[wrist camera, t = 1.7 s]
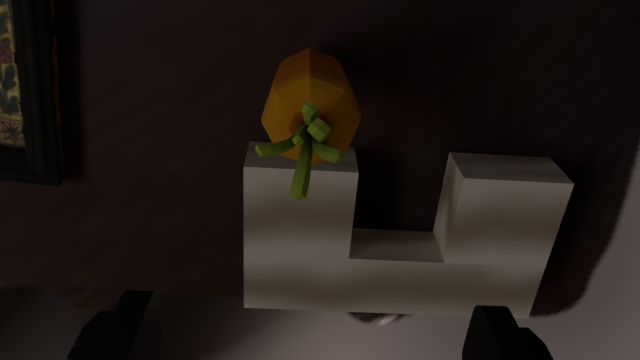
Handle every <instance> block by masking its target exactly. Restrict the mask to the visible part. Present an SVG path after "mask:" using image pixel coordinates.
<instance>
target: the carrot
mask: <svg viewBox="0 0 640 360" xmlns="http://www.w3.org/2000/svg"><path fill="white" fill-rule="evenodd" d="M360 120H361V113H360V110H359V107H358V104H357V101H356V98H355V96H354V93H353V91H352V89H351V86H350V84H349V82H348V80H347V77H346V75H345V73H344V70H343V68H342V66H341V63H340V62H339V61H338V60H337V59H336V58H334V57H333V56H331V55H328V54H326V53H323V52H320V51H318V50H315V49H312V48H308V49H305V50H303V51H301V52H299V53H297V54H294V55H292V56H290V57H288V58H287V59H285V60H284V61H283V62H282V63H281V64H280V65H279V68H278V71H277V73H276V76H275V79H274V82H273V85H272V87H271V90H270V93H269V96H268V99H267V102H266V105H265V108H264V111H263V115H262V118H261V122H262V124H263V126H264V128H265V129H266V131H267V133H268V135H269V137H270V139H271V140H272V142H273V143H268V144H261V145H256V146H255V150H256V152H257V154H258V155H259V156H260V157H270V156H276V155H281V156H284V157H287V158H290V159H293V160H296V161H297V165H296V169H295V173H294V176H293V181H292V185H291V191H290V196H291V198H292V199H294V200H301V199H304V198H306V196H307V192H308V187H309V181H310V173H311V166H315V165H317V164H320V163H322V162H325V161H328V162H331V163H336V164H339V163H340V162H341V160H342V159H343V156H344V153H346V151H347V149H348V147H349V145H350V143H351V140H352V138H353V136H354V134H355V131H356V129H357V127H358V125H359V122H360Z"/></svg>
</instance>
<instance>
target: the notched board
mask: <svg viewBox="0 0 640 360" xmlns="http://www.w3.org/2000/svg"><path fill="white" fill-rule="evenodd" d="M268 143H271V142H252V141H250V143H249V147H248V151H247V155H246V160H245V164H244V308H268V309H294V310H319V311H320V310H322V311H345V312H371V313H397V314H423V315H448V316H449V315H450V316H472V313H473V310H474V308H475V306H476V305H491V306H507V307H508V308H509V309H510V311H511V313H512V315H513V317H514V318H526V319H528V316H529V313H530V311H531V308H532V305H533V302H534V299H535V296H536V293H537V290H538V287H539V284H540V282H541V279H542V276H543V273H544V270H545V267H546V264H547V261H548V258H549V256H550V253H551V250H552V247H553V244H554V241H555V238H556V235H557V232H558V229H559V227H560V224H561V221H562V218H563V215H564V212H565V209H566V206H567V203H568V200H569V198H570V195H571V192H572V189H573V186H574V183H573V182H572V181H571V180H570V179H569V178H568V177H567V176H566V175H565V174H564V172H563V171H562V170H561V169H560V168H559V167H558V166H557V165H556V164H555V163H554V162H553V161H552V160H551V159H550V158H546V157H527V156H509V155H491V154H472V153H454V152H449V157H448V162H447V167H446V171H445V176H444V181H443V186H442V191H441V195H440V200H439V205H438V210H437V215H436V220H435V224H434V229H433V232H425V231H404V230H383V229H361V228H352V226H353V218H354V209H355V201H356V192H357V184H358V175H359V171H358V166H357V160H356V155H355V149H354V147H348V149H347V151H346V153H344V156H343V159H342V160H341V162H340V163H339V164H336V163H331V162H328V161H325V162H322V163H320V164H317V165H315V166H311V173H310V181H309V187H308V192H307V196H306V198H304V199H301V200H294V199H292V198H291V196H290V191H291V185H292V181H293V176H294V173H295V169H296V165H297V161H296V160H293V159H290V158H287V157H284V156H281V155H276V156H270V157H260V156H259V155H258V154H257V152H256V150H255V146H256V145H261V144H268Z"/></svg>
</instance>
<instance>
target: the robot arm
mask: <svg viewBox="0 0 640 360" xmlns="http://www.w3.org/2000/svg"><path fill="white" fill-rule="evenodd" d="M162 343H163V337H162V327H161V317H160V307H159V298H158V293H157V292H156V291H131V290H126V291H124V293H123V294H122V296H121V298H120V300H119V302H118V305H117V307H116V309H115V311H100V312H99V313H98V314H97V315H95V316H94V317H93V318H92V319H91V320H90V321H89V322H88V323H86V324H85V325H84V327H83V328H82V330H81V332H80V334H79V336H78V338H77V340H76V341H75V344H74V347H73V348H72V349H71V351H70V353H69V355H68V357H67V360H160V358H161V352H162ZM462 360H553V358H552V356H551V354H550V352H549V351H548V349H547V347H546V345H545V343H544V342H543V341H542V340H541V339H540V338H539V337H538V336H536V335H535V334H534V333H533V332H532V331H531V330H530V329H529V328H521V327H520V328H519V327H518V325H517V323H516V321H515V319H514V317H513V315H512V313H511V311H510V309H509V308H508V307H507V306H491V305H476V306H475V308H474V310H473V313H472V317H471V321H470V324H469V328H468V331H467V335H466V339H465V342H464V346H463V351H462Z"/></svg>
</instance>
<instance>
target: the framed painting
mask: <svg viewBox="0 0 640 360" xmlns="http://www.w3.org/2000/svg"><path fill="white" fill-rule="evenodd" d="M64 176H65V166H64V157H63V141H62V123H61V105H60V90H59V71H58V51H57V36H56V16H55V0H0V180H2V181H13V182H22V183H30V184H38V185H46V186H56V187H59V186H60V185H61V184H62V182H63V180H64Z"/></svg>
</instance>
